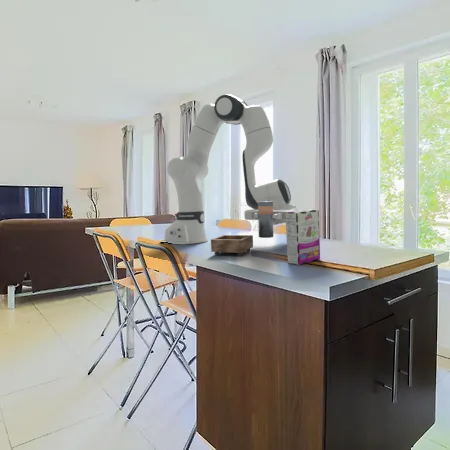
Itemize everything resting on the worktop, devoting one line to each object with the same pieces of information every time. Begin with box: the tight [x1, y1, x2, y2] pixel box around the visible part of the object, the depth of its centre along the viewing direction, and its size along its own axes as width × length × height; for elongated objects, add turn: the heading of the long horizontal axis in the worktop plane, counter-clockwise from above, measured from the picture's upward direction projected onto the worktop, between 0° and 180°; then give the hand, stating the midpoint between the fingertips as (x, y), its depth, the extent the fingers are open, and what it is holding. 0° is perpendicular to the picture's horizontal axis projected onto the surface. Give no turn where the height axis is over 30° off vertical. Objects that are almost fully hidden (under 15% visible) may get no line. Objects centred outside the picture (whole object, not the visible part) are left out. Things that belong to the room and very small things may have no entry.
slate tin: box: [257, 201, 274, 239], centre depth 133 cm, size 6×6×13 cm
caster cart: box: [210, 234, 254, 257], centre depth 134 cm, size 12×12×6 cm
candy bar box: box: [285, 208, 321, 266], centre depth 114 cm, size 11×5×16 cm, turn 129°
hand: (265, 216), depth 132 cm, fingers closed on slate tin, 5 cm apart
